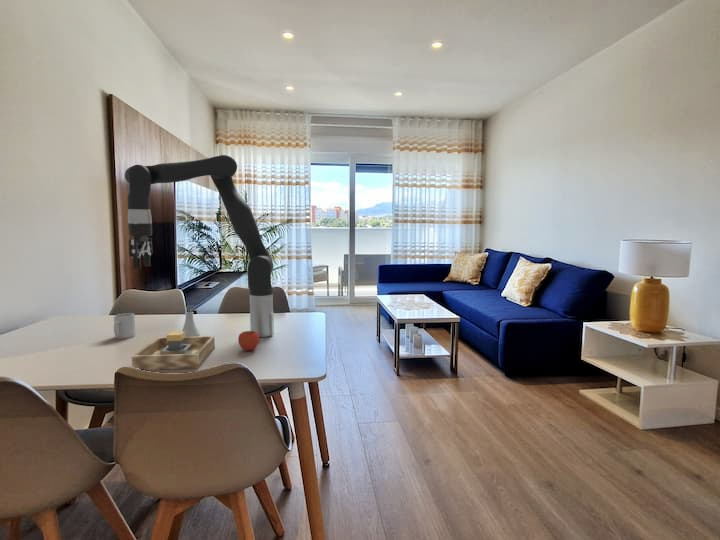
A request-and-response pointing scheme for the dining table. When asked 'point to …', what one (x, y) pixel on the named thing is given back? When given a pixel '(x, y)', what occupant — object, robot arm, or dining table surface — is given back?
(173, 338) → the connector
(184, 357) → the walled box
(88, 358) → the dining table surface
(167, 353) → the frame
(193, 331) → the flask
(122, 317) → the cup
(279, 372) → the dining table surface
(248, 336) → the apple
